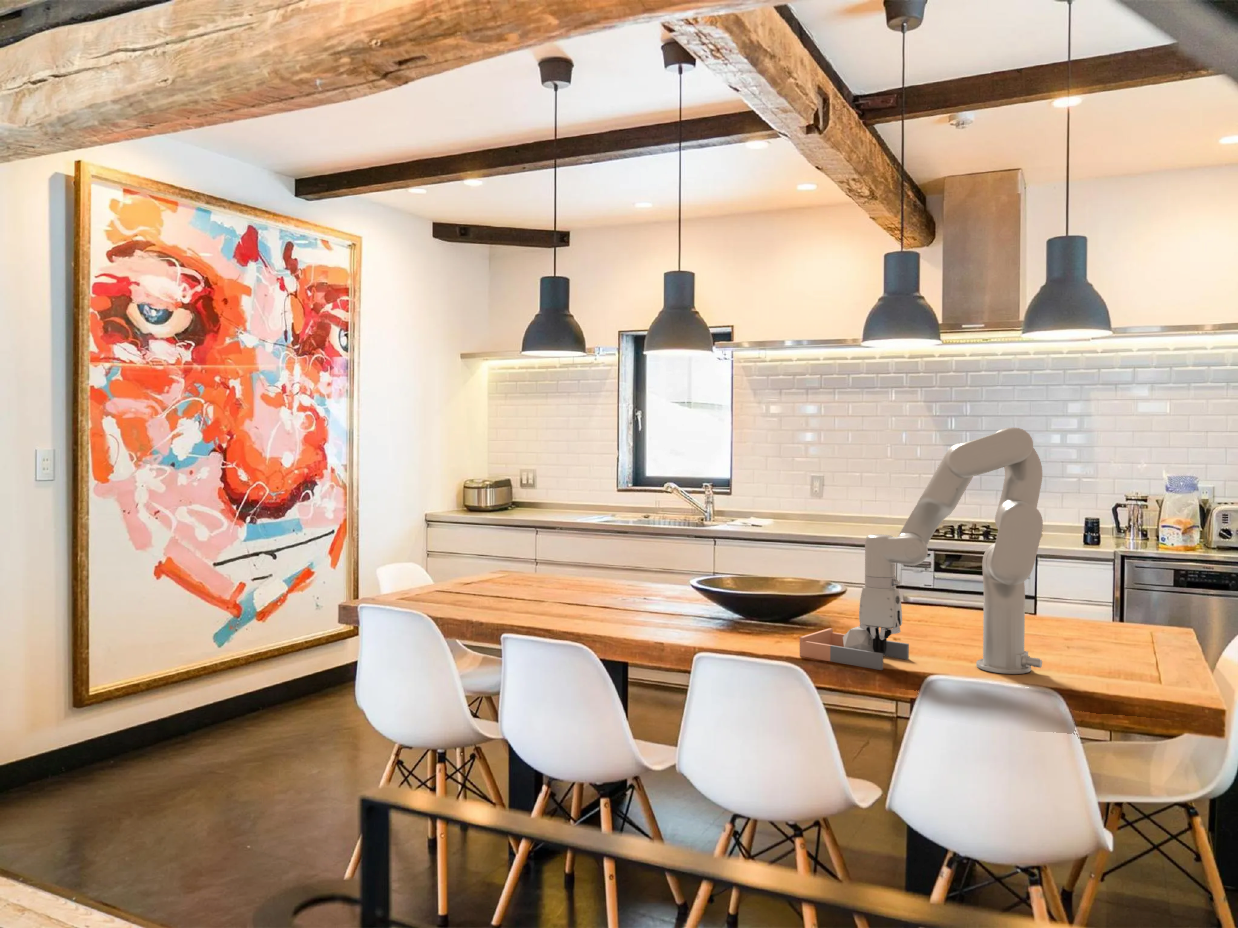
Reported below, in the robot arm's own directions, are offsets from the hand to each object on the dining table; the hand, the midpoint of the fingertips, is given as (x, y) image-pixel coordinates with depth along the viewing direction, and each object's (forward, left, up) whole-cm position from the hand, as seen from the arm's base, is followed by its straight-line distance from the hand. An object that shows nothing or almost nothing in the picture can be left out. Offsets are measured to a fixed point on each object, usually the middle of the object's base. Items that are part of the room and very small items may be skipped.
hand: (879, 653), depth 234 cm
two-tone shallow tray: (+7, 0, -2) cm, 7 cm away
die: (+6, -1, -2) cm, 7 cm away
